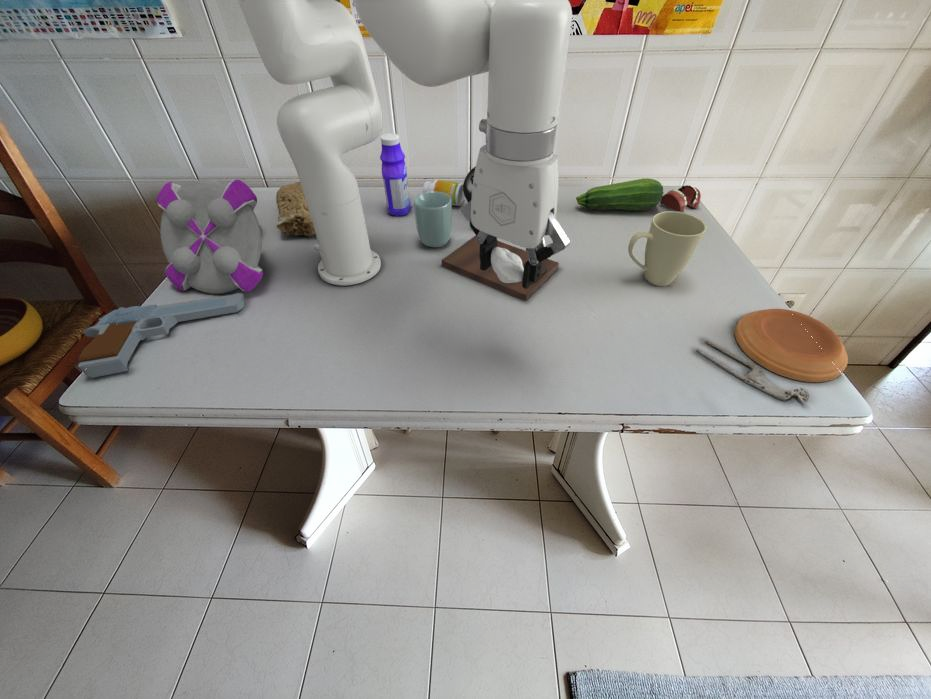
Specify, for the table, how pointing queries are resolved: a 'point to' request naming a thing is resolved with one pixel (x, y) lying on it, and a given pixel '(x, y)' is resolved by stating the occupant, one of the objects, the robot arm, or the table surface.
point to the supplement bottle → (447, 190)
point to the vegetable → (623, 196)
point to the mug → (668, 245)
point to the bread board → (469, 265)
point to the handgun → (142, 330)
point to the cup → (433, 218)
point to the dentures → (682, 198)
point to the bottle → (394, 175)
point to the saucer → (791, 344)
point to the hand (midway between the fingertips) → (508, 273)
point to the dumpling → (507, 265)
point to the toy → (210, 236)
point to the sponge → (293, 211)
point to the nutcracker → (759, 379)
